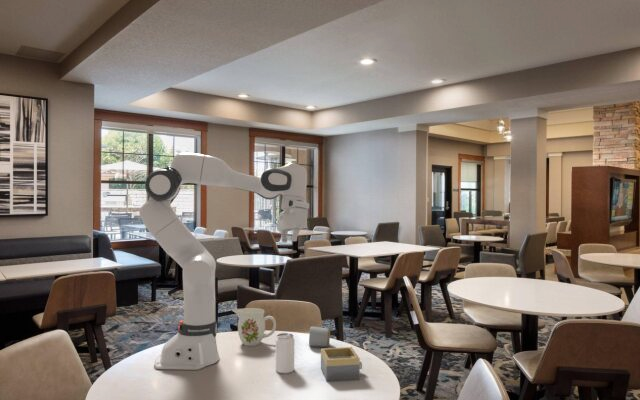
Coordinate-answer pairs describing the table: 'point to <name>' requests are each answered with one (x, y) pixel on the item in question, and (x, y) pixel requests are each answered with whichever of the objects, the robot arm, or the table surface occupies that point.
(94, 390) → the table surface
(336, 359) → the drawer
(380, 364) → the table surface
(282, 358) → the can
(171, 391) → the table surface
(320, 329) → the ceramic mug
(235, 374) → the table surface
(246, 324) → the pitcher
